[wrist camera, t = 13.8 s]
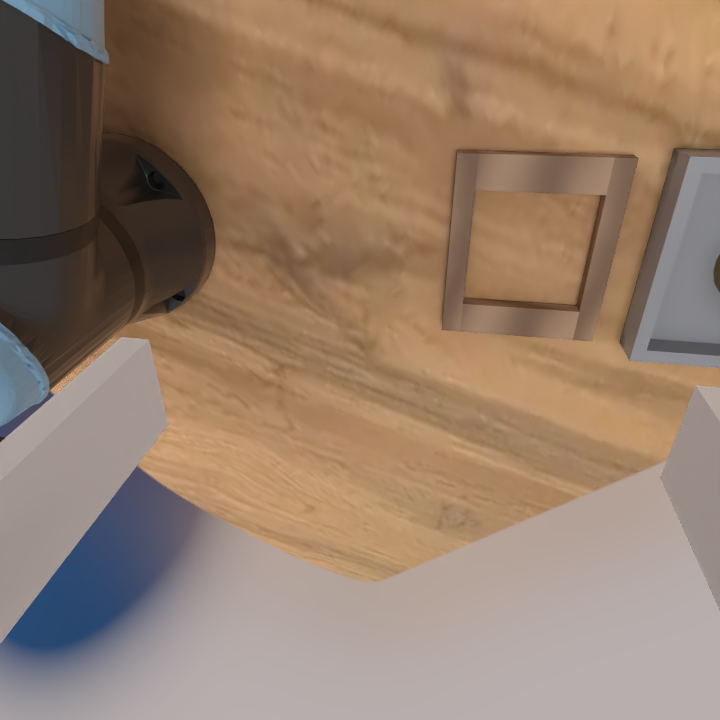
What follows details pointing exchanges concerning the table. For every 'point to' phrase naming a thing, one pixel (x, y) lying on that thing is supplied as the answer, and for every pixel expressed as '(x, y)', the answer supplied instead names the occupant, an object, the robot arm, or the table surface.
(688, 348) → the tray
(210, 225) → the robot arm
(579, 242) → the table surface
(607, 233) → the socket block
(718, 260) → the olive bulb peg
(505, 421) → the table surface
